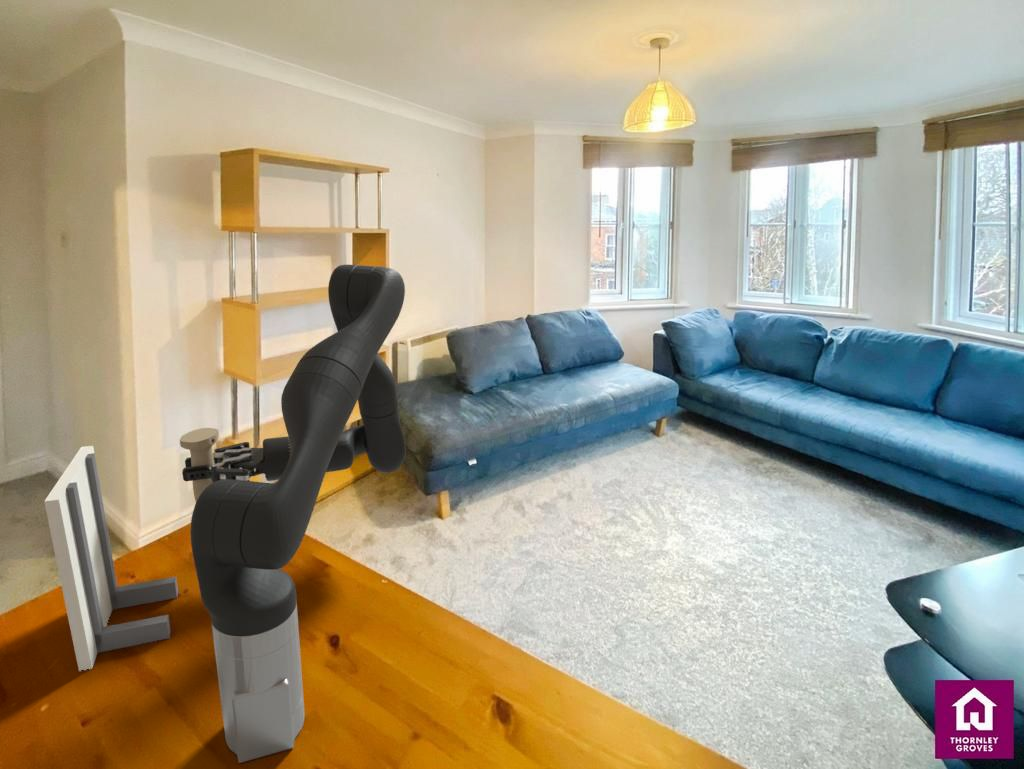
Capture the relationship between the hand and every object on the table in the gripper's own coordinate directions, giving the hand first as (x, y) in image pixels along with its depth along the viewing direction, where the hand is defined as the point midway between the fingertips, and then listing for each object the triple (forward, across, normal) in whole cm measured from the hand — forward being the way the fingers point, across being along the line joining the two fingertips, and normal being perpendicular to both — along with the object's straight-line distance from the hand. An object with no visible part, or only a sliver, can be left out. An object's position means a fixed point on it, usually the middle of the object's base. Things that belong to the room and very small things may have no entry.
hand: (184, 469), depth 100 cm
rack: (+8, +13, +19) cm, 24 cm away
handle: (-3, 0, +9) cm, 10 cm away
